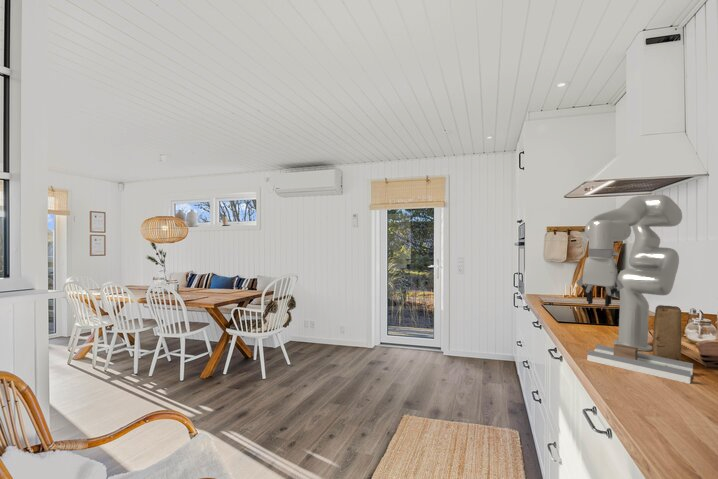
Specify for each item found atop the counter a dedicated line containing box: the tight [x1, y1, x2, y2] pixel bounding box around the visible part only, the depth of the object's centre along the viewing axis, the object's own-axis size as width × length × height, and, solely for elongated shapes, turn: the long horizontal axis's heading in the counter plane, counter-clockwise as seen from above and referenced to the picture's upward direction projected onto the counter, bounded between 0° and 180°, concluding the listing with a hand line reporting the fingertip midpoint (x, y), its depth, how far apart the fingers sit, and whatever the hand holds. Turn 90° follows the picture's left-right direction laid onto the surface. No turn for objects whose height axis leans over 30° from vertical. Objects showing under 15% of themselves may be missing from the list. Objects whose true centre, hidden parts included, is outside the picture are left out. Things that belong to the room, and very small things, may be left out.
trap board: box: [586, 344, 694, 385], centre depth 125 cm, size 12×27×4 cm, turn 45°
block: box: [652, 304, 682, 361], centre depth 130 cm, size 11×8×20 cm
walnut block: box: [613, 344, 639, 360], centre depth 127 cm, size 5×6×4 cm
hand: (598, 304), depth 133 cm, fingers open, 4 cm apart
